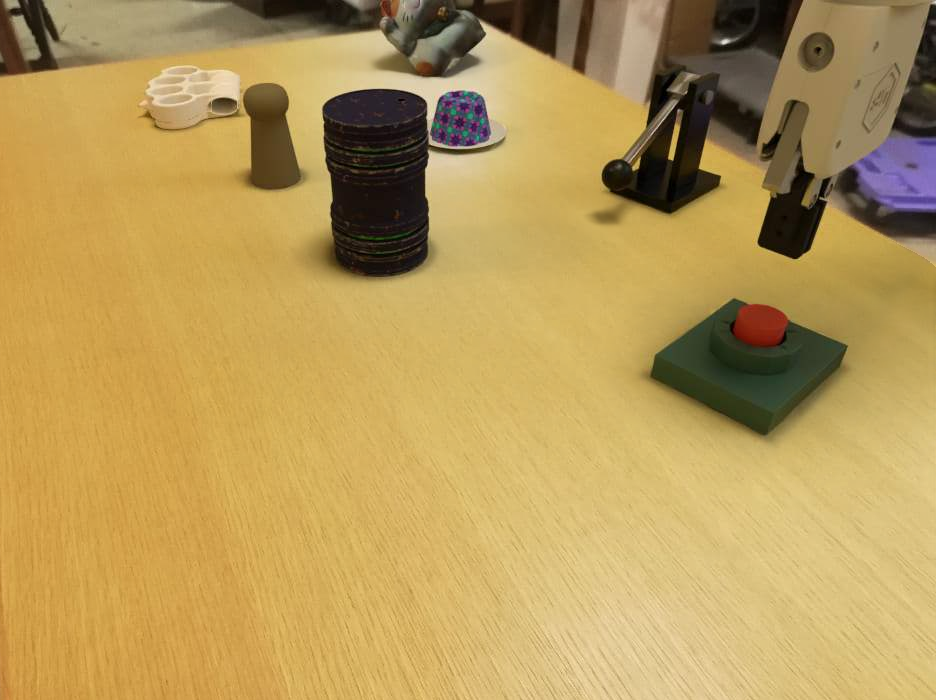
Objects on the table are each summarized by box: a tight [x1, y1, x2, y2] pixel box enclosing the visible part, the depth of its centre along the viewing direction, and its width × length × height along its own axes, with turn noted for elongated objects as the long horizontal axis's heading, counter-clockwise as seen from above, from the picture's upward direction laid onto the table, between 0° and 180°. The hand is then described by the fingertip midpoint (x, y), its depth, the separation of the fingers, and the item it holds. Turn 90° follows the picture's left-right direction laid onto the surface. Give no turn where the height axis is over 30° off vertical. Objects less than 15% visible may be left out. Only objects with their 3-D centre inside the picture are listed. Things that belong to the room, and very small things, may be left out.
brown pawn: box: [242, 82, 302, 190], centre depth 92 cm, size 6×6×11 cm
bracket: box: [609, 63, 722, 214], centre depth 86 cm, size 10×8×13 cm
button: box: [733, 303, 789, 348], centre depth 61 cm, size 4×4×2 cm
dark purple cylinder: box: [321, 88, 430, 277], centre depth 76 cm, size 10×10×15 cm
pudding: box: [427, 89, 507, 150], centre depth 103 cm, size 12×12×5 cm
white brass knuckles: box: [137, 65, 242, 130], centre depth 115 cm, size 3×18×15 cm
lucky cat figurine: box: [379, 0, 487, 77], centre depth 125 cm, size 15×12×14 cm
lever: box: [601, 71, 701, 191], centre depth 83 cm, size 15×3×3 cm
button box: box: [650, 297, 849, 436], centre depth 63 cm, size 12×10×4 cm
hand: (782, 248), depth 57 cm, fingers closed
